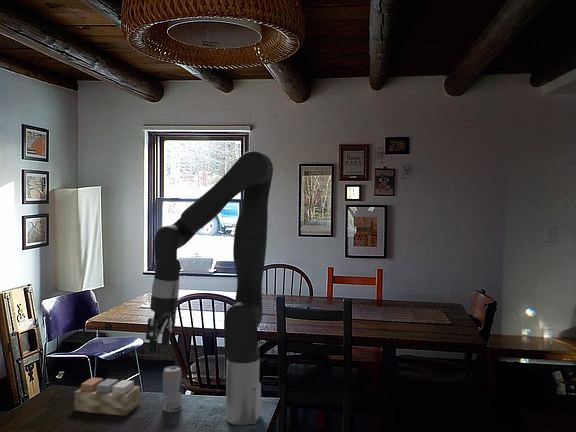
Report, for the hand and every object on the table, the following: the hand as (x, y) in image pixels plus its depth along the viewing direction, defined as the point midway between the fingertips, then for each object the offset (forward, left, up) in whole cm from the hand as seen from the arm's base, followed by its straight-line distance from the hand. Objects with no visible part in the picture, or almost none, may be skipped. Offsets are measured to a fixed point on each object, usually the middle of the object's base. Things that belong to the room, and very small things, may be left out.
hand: (159, 349), depth 146 cm
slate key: (+16, +1, -14) cm, 21 cm away
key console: (+16, +1, -18) cm, 24 cm away
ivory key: (+11, +1, -14) cm, 18 cm away
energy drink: (-3, -2, -19) cm, 19 cm away
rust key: (+21, +1, -14) cm, 25 cm away
